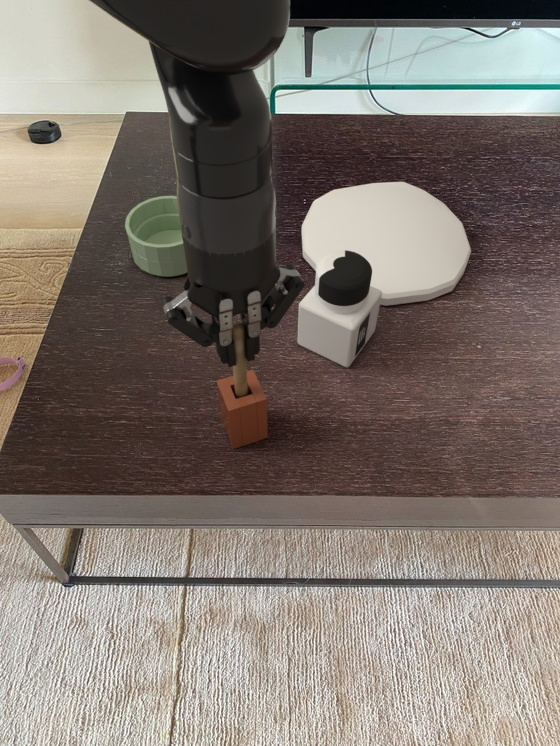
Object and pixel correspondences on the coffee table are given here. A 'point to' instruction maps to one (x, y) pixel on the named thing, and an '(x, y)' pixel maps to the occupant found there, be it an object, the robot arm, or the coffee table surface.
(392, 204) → the decorative plate
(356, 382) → the coffee table surface
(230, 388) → the utensil block
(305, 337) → the container
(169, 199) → the bowl
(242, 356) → the cooking stick
